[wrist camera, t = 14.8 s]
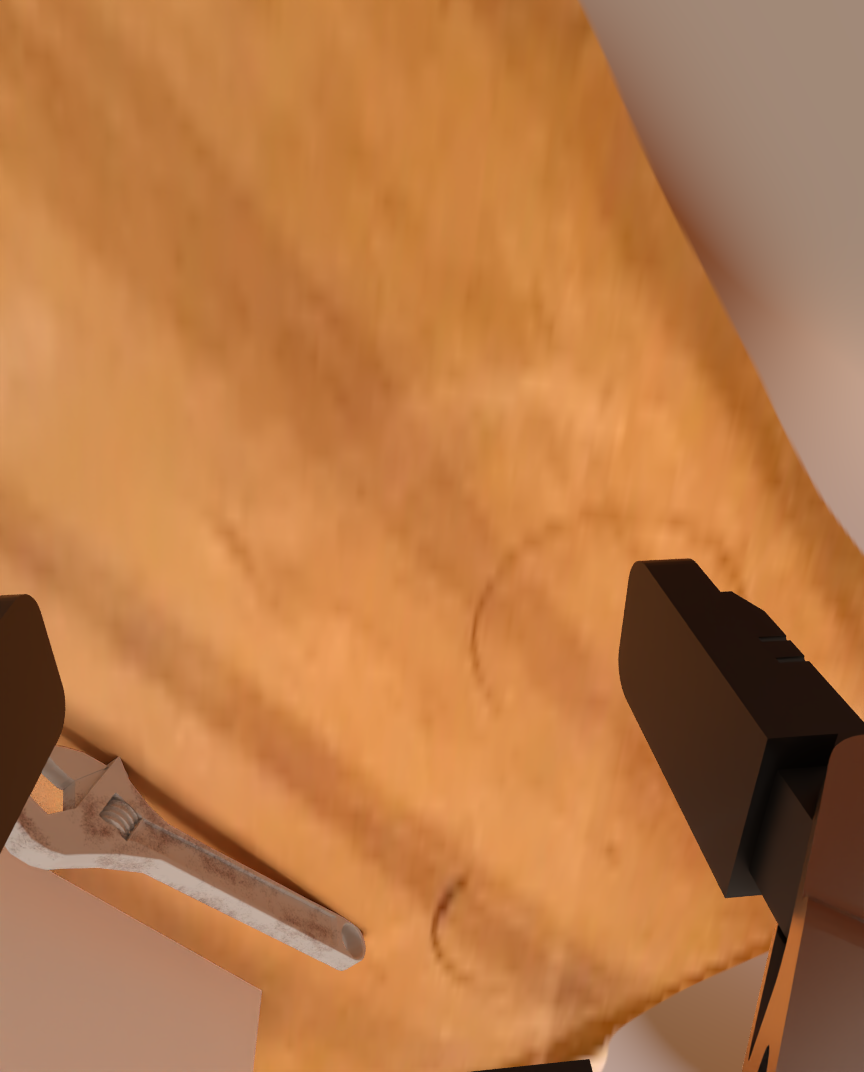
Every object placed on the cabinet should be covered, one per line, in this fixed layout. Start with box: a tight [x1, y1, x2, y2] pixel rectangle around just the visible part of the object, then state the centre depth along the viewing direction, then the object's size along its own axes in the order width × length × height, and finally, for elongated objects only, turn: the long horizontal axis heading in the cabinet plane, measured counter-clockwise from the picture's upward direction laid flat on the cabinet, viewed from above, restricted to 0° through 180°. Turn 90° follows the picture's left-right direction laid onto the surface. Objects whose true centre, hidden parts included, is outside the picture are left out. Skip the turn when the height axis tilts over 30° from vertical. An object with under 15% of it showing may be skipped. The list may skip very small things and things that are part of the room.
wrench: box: [5, 745, 365, 971], centre depth 48 cm, size 8×2×30 cm
